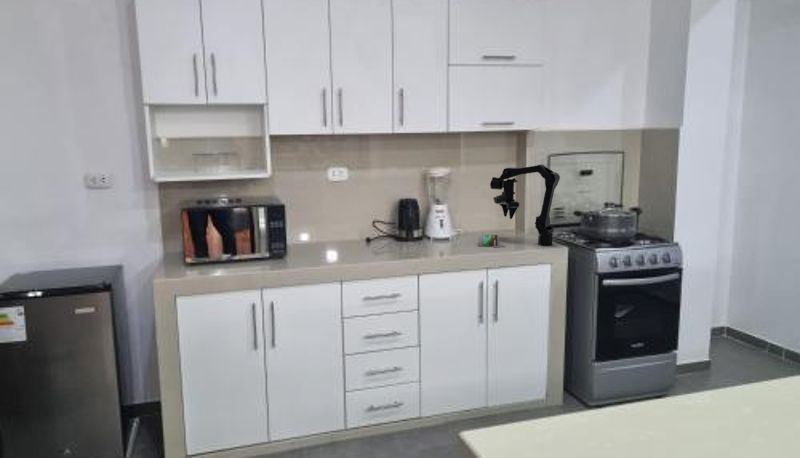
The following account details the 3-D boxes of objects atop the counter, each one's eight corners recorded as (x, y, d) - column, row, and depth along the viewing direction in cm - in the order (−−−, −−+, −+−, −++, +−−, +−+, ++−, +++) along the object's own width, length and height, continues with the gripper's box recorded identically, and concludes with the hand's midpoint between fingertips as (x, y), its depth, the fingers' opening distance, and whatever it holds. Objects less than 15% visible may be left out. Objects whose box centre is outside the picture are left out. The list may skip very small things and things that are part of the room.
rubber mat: (498, 242, 328) (498, 242, 328) (505, 247, 316) (505, 246, 316) (487, 243, 327) (487, 242, 327) (494, 247, 315) (494, 246, 315)
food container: (496, 235, 315) (478, 235, 317) (497, 246, 316) (478, 246, 318) (497, 230, 327) (479, 230, 329) (498, 241, 328) (480, 241, 330)
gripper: (489, 188, 338) (489, 215, 340) (500, 192, 319) (499, 220, 322) (508, 188, 339) (507, 215, 342) (520, 191, 321) (519, 220, 324)
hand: (508, 217), depth 333 cm, fingers open, 9 cm apart
